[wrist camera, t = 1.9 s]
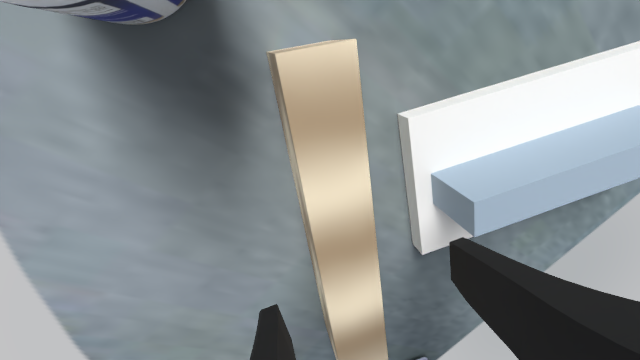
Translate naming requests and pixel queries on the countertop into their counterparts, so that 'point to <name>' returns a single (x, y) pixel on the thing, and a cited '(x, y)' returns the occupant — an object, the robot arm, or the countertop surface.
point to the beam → (334, 188)
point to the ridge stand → (521, 147)
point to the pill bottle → (108, 9)
